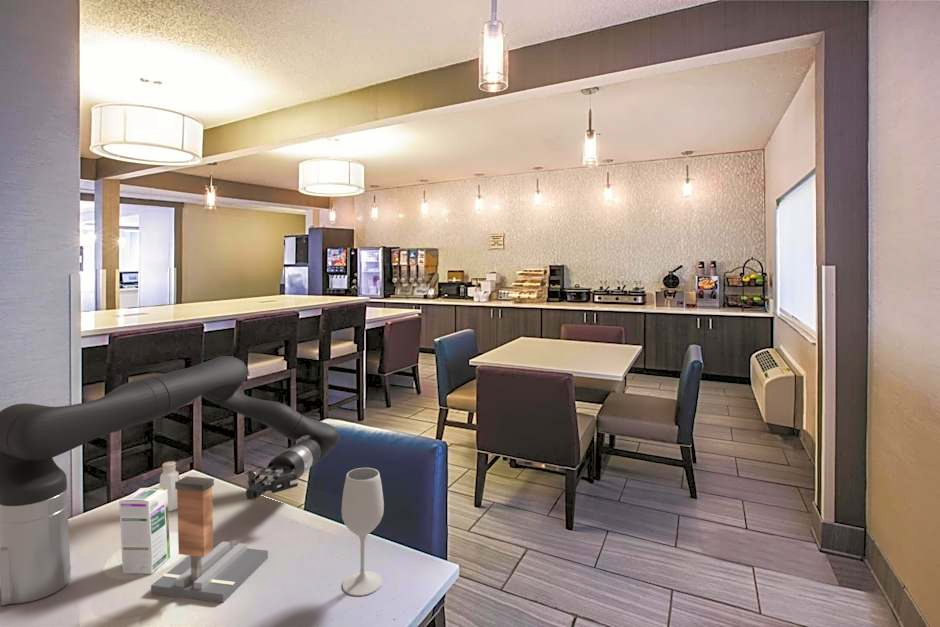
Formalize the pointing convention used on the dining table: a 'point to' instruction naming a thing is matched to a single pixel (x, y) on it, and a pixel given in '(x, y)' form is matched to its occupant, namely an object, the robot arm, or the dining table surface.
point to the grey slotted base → (212, 573)
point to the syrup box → (144, 530)
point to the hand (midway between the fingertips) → (250, 495)
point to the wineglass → (362, 522)
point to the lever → (195, 520)
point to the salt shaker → (170, 483)
